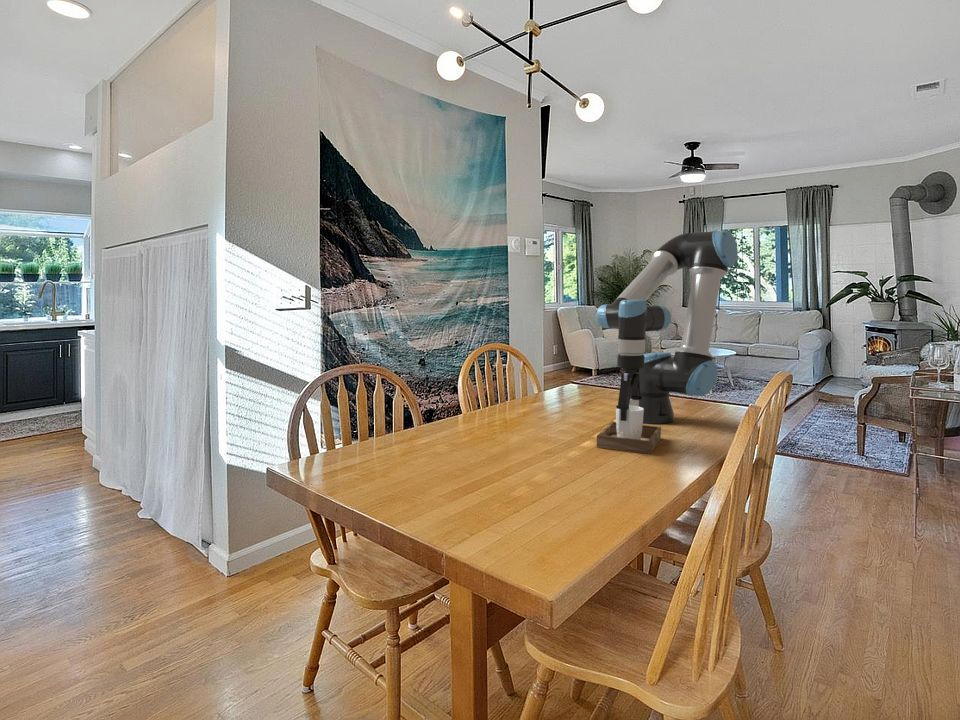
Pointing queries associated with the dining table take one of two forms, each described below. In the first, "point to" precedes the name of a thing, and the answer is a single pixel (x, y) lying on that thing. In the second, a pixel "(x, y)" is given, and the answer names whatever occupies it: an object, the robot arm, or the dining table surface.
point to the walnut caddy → (645, 445)
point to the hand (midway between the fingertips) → (628, 426)
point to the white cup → (632, 423)
